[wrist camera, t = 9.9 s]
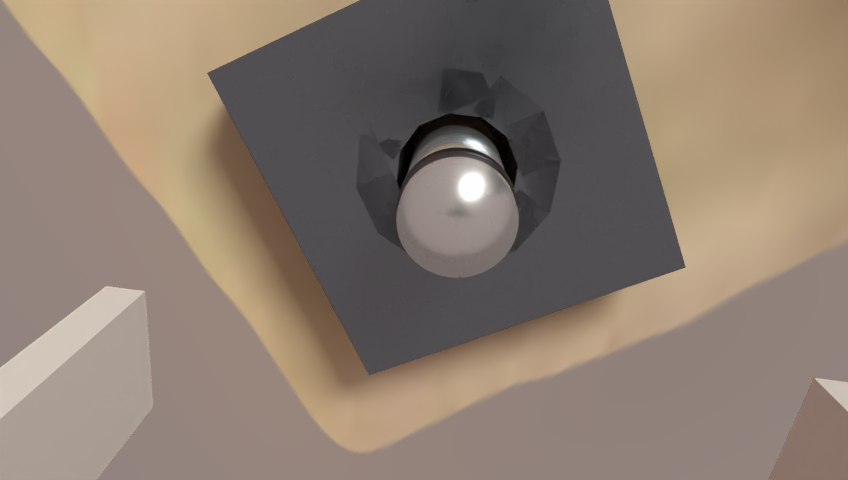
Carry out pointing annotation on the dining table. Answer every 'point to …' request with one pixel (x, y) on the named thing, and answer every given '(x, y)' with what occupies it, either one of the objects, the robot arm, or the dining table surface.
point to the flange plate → (432, 98)
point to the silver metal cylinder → (457, 200)
